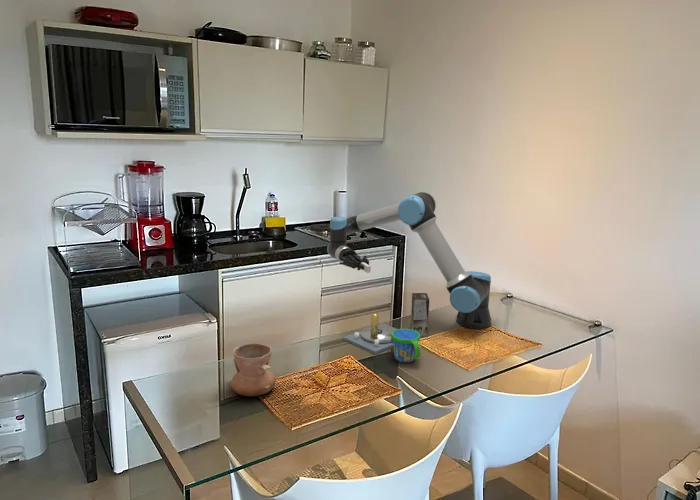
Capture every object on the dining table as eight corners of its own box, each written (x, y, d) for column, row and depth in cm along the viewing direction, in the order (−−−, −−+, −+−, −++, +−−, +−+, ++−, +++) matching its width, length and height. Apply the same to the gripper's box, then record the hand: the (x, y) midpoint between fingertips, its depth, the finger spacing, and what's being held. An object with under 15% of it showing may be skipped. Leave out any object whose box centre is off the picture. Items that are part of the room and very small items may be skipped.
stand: (414, 338, 218) (414, 329, 217) (375, 354, 202) (375, 345, 201) (382, 325, 230) (382, 317, 229) (343, 339, 215) (343, 331, 214)
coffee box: (427, 336, 220) (429, 299, 216) (412, 336, 220) (413, 299, 216) (425, 328, 228) (427, 292, 224) (410, 327, 229) (411, 292, 225)
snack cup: (427, 365, 194) (429, 339, 192) (402, 370, 190) (403, 344, 187) (406, 348, 208) (407, 324, 205) (382, 352, 204) (383, 328, 201)
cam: (385, 326, 226) (386, 300, 223) (404, 339, 213) (406, 312, 210) (354, 332, 219) (354, 305, 216) (372, 346, 206) (373, 318, 203)
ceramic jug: (286, 392, 174) (286, 351, 170) (249, 407, 164) (247, 364, 161) (255, 373, 186) (254, 335, 183) (219, 386, 176) (217, 347, 173)
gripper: (359, 262, 240) (383, 276, 219) (332, 265, 235) (354, 280, 214) (359, 246, 238) (383, 259, 217) (332, 249, 233) (354, 262, 212)
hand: (369, 269), depth 216 cm, fingers closed
